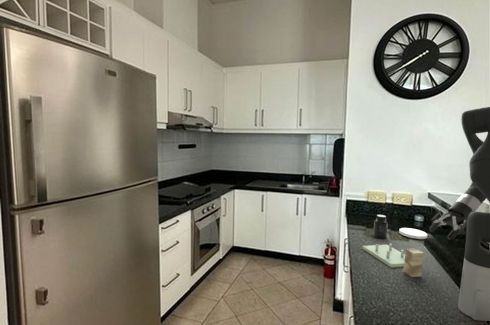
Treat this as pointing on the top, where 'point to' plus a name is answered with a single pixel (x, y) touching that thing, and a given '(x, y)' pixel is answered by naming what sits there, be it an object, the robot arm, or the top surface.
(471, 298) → the robot arm
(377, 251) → the peg board
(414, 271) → the ash block
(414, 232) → the plastic lid
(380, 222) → the supplement bottle
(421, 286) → the top surface
